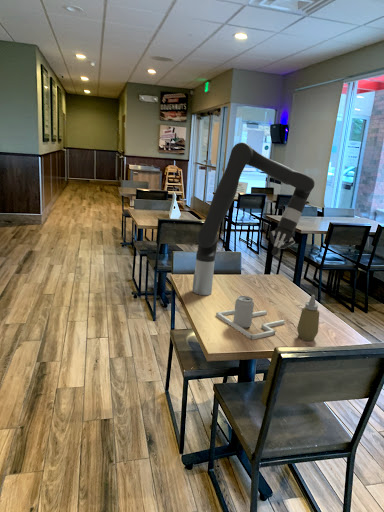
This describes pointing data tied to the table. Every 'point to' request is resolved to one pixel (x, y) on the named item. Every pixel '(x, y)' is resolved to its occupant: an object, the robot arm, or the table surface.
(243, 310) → the can
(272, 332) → the t outline
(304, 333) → the squeeze bottle
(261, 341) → the table surface
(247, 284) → the table surface
